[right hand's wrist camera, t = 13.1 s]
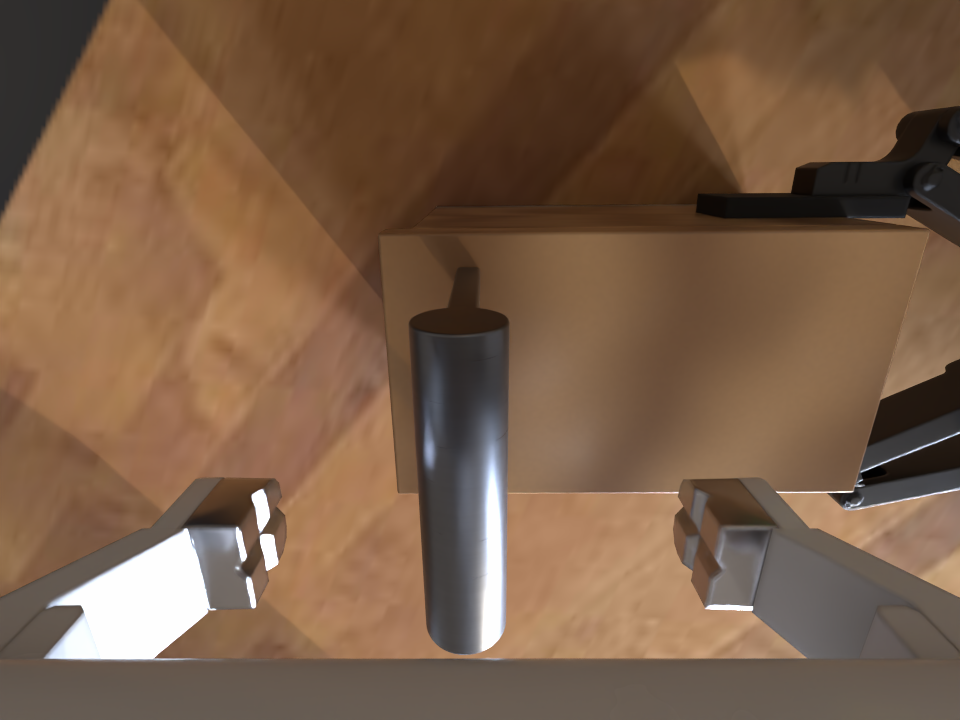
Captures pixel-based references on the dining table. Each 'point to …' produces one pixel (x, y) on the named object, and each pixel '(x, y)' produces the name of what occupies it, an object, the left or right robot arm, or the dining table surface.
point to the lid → (624, 373)
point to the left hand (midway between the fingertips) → (692, 329)
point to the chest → (603, 217)
